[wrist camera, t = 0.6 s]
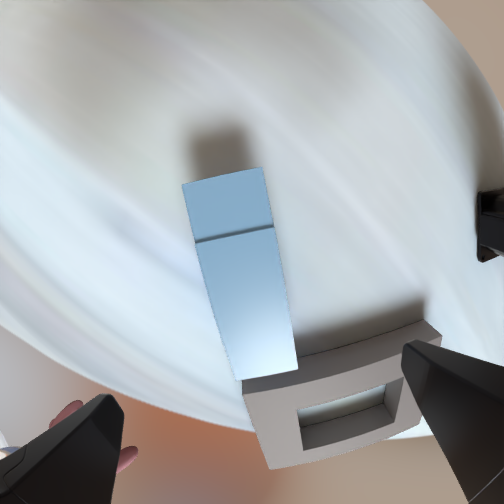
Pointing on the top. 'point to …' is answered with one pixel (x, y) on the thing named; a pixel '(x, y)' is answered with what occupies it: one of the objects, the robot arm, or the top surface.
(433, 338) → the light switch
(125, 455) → the video game controller
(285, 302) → the light blue bar
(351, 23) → the top surface
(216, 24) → the top surface
